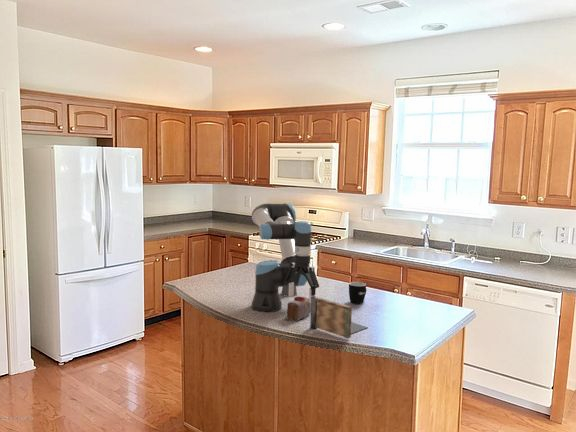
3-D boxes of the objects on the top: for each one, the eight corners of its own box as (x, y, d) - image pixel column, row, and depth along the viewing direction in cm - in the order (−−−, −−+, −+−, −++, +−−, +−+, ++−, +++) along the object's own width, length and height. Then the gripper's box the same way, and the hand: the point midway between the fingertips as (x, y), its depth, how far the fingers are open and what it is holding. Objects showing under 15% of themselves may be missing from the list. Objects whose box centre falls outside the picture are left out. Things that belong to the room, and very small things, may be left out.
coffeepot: (281, 297, 253) (282, 264, 251) (275, 292, 261) (275, 261, 259) (307, 295, 259) (308, 263, 257) (300, 290, 267) (300, 259, 265)
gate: (315, 327, 203) (316, 298, 202) (319, 326, 205) (320, 297, 203) (347, 338, 192) (348, 307, 190) (350, 337, 193) (351, 306, 192)
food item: (298, 311, 229) (299, 292, 228) (313, 314, 225) (313, 294, 224) (285, 319, 217) (285, 298, 216) (300, 322, 213) (300, 301, 212)
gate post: (308, 328, 206) (309, 297, 204) (313, 326, 208) (314, 296, 206) (313, 329, 203) (314, 298, 202) (318, 328, 206) (319, 297, 204)
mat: (326, 329, 205) (326, 328, 205) (348, 321, 215) (348, 320, 215) (345, 336, 197) (345, 335, 197) (367, 328, 208) (367, 327, 207)
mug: (358, 306, 240) (359, 287, 239) (344, 302, 246) (345, 283, 245) (372, 302, 248) (373, 283, 247) (358, 298, 255) (359, 280, 254)
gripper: (278, 251, 224) (277, 294, 226) (316, 259, 206) (315, 306, 208) (289, 250, 229) (288, 292, 231) (327, 257, 212) (326, 303, 214)
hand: (301, 299), depth 220 cm, fingers open, 13 cm apart
